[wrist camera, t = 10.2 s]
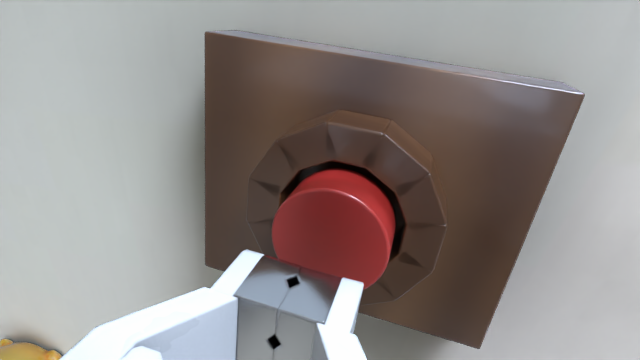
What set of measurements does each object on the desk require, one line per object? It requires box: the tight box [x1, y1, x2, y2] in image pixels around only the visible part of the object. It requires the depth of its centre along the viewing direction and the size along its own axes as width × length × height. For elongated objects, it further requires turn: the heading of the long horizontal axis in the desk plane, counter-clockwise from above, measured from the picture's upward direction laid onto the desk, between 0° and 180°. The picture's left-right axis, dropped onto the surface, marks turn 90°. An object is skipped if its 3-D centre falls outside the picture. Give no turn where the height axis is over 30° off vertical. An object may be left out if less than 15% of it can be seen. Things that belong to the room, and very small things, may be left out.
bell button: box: [272, 168, 396, 290], centre depth 12 cm, size 4×4×2 cm
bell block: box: [205, 30, 585, 349], centre depth 14 cm, size 12×10×4 cm
